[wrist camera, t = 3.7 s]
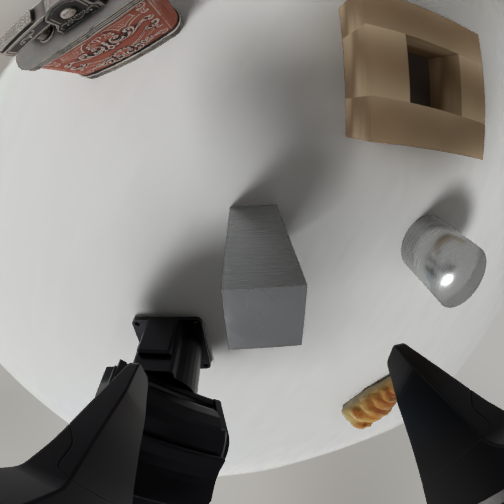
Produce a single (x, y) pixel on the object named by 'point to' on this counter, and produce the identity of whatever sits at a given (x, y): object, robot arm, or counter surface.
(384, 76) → the socket block
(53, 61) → the lighter
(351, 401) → the pastry
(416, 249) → the cylinder
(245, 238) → the square bit
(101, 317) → the counter surface
